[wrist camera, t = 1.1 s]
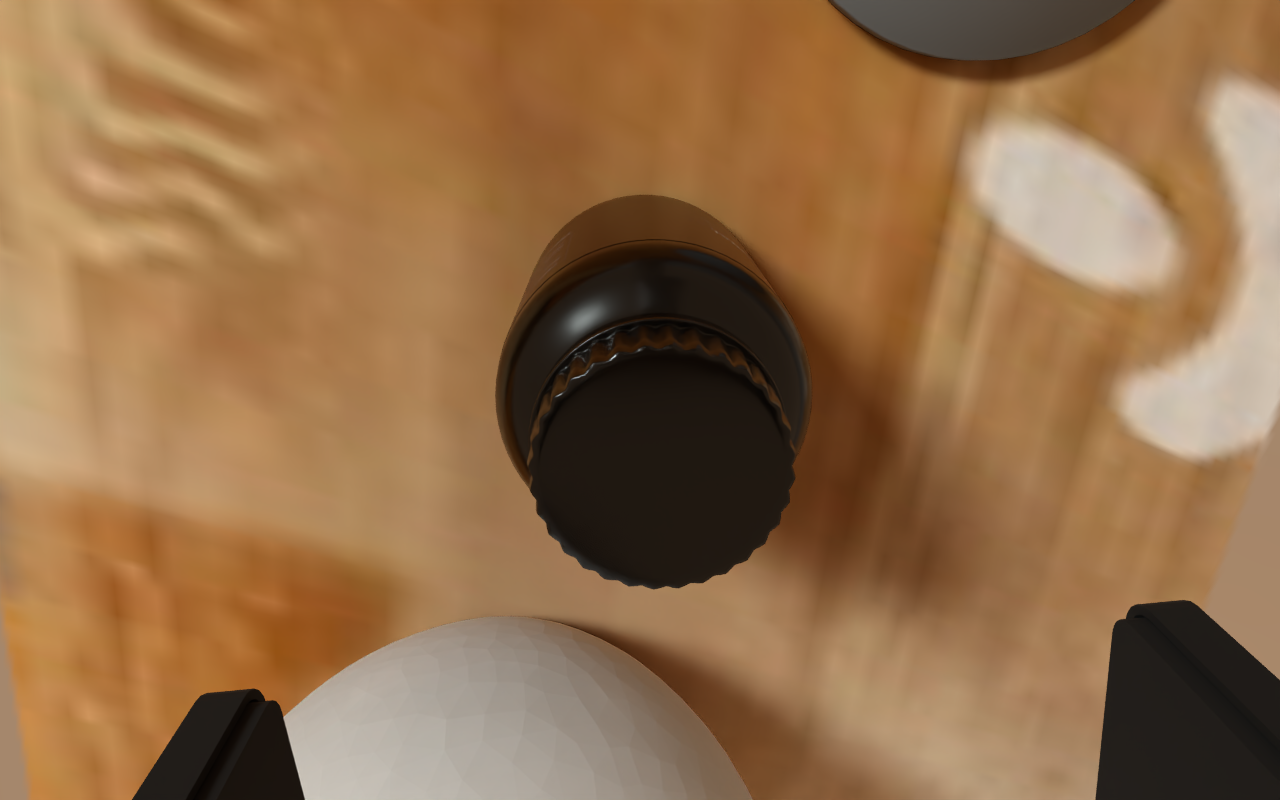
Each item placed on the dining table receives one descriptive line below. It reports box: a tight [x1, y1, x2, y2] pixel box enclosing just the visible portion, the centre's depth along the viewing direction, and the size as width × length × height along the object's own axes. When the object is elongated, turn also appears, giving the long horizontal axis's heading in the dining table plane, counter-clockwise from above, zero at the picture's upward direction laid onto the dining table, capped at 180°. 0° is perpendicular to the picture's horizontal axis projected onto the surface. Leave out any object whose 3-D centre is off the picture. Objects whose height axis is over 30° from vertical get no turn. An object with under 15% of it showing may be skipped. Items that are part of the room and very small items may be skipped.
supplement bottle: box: [495, 195, 812, 589], centre depth 22 cm, size 7×7×12 cm
